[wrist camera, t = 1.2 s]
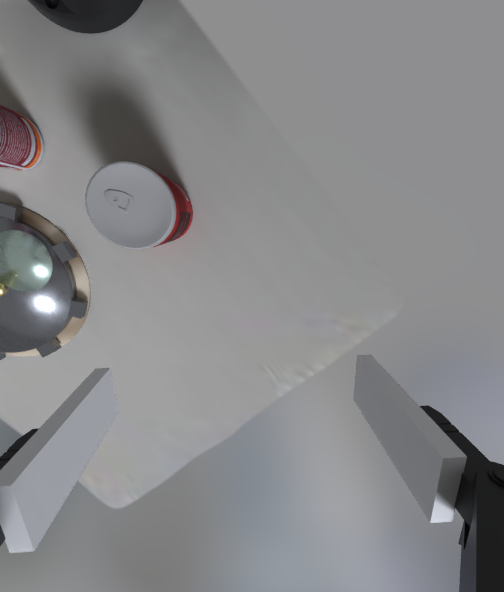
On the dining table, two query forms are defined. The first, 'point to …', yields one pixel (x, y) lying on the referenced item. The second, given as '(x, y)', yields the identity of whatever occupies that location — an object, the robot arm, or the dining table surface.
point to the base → (78, 273)
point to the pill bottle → (19, 141)
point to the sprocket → (34, 286)
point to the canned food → (137, 206)
